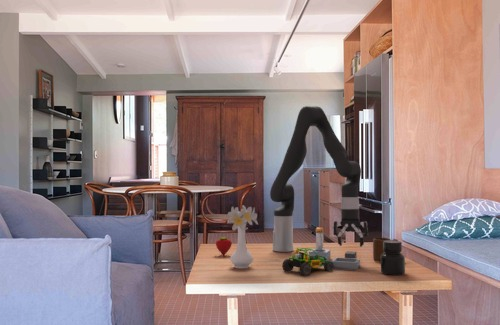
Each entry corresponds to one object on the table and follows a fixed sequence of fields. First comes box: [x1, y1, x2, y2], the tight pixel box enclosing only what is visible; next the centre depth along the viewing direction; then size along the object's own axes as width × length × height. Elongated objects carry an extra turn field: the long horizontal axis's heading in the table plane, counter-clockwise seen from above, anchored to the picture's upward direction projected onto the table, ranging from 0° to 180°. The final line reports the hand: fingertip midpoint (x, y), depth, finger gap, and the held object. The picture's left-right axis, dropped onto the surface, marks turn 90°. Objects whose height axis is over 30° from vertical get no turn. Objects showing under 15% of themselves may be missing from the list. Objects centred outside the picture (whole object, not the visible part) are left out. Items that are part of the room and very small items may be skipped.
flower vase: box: [226, 204, 259, 270], centre depth 188 cm, size 13×18×25 cm
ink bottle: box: [380, 239, 406, 276], centre depth 176 cm, size 10×9×12 cm
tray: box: [331, 256, 361, 271], centre depth 187 cm, size 10×9×3 cm
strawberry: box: [215, 235, 233, 256], centre depth 217 cm, size 6×8×10 cm
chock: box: [344, 250, 358, 259], centre depth 196 cm, size 4×6×4 cm
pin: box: [315, 227, 324, 252], centre depth 204 cm, size 3×3×14 cm
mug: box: [372, 237, 399, 263], centre depth 202 cm, size 12×8×9 cm, turn 100°
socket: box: [308, 248, 331, 261], centre depth 204 cm, size 8×8×4 cm
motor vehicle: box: [281, 247, 333, 277], centre depth 180 cm, size 12×19×11 cm, turn 129°
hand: (350, 245), depth 196 cm, fingers open, 8 cm apart
